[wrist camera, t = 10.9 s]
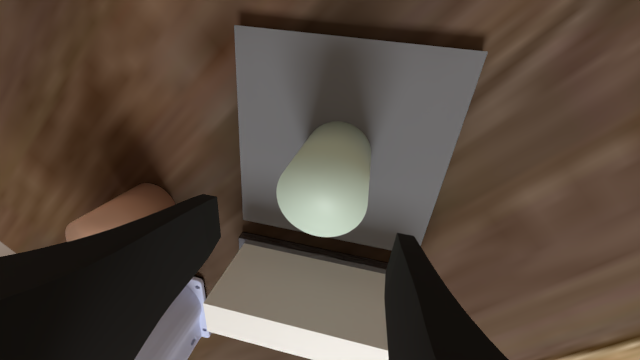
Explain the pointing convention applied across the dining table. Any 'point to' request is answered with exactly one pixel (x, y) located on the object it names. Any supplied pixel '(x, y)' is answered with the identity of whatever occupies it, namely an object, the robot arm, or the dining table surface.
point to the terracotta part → (120, 211)
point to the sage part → (327, 181)
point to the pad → (352, 119)
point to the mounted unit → (301, 301)
